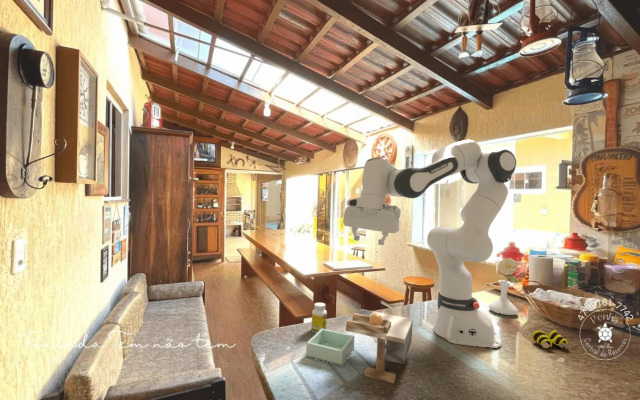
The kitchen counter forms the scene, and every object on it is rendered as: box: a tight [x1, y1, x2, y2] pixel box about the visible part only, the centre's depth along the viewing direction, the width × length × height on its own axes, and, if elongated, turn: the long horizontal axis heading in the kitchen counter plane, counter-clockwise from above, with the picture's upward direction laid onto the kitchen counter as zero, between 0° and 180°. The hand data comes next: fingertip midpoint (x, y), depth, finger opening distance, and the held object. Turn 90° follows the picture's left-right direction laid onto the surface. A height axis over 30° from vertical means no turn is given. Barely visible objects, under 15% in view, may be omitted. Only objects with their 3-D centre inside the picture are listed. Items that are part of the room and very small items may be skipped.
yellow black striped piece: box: [531, 330, 569, 347], centre depth 110 cm, size 10×5×5 cm, turn 96°
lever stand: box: [364, 312, 399, 384], centre depth 97 cm, size 8×22×11 cm, turn 156°
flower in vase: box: [488, 257, 519, 316], centre depth 140 cm, size 13×11×25 cm
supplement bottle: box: [310, 302, 328, 334], centre depth 116 cm, size 5×5×10 cm
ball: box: [369, 313, 383, 326], centre depth 94 cm, size 4×4×4 cm
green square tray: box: [305, 328, 355, 367], centre depth 100 cm, size 12×12×4 cm
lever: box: [345, 308, 414, 365], centre depth 98 cm, size 17×16×9 cm
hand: (368, 242), depth 111 cm, fingers open, 8 cm apart
